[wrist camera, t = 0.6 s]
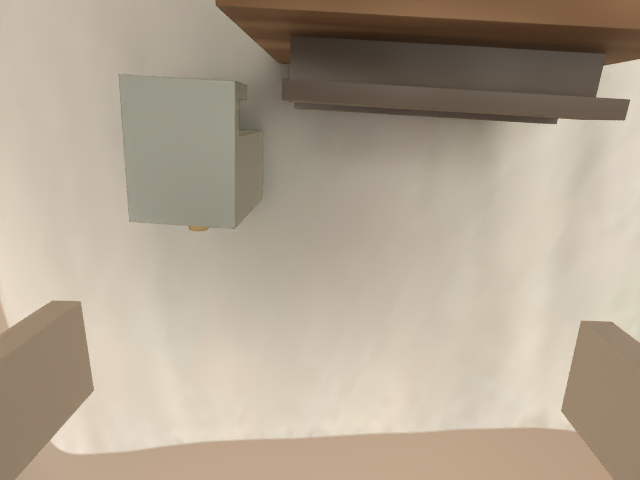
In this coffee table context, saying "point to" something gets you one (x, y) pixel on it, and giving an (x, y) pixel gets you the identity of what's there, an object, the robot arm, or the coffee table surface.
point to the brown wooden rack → (447, 55)
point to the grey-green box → (188, 152)
